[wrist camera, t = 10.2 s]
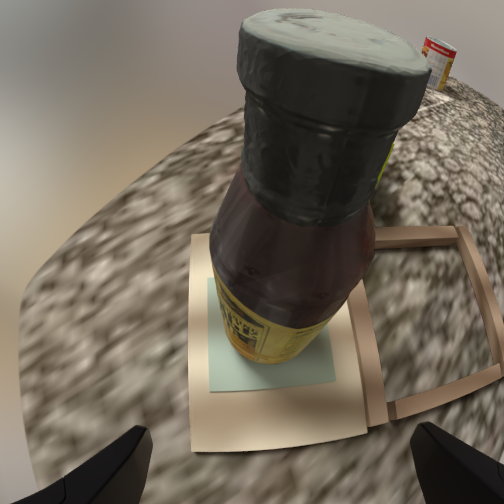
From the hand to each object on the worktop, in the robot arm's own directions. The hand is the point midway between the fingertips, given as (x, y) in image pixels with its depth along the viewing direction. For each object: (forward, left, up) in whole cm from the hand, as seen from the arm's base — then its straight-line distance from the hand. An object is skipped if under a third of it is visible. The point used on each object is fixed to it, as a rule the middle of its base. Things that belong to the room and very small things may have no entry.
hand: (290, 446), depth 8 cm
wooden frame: (+8, -10, -12) cm, 18 cm away
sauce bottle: (+8, -1, -12) cm, 14 cm away
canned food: (+61, -46, -13) cm, 77 cm away
